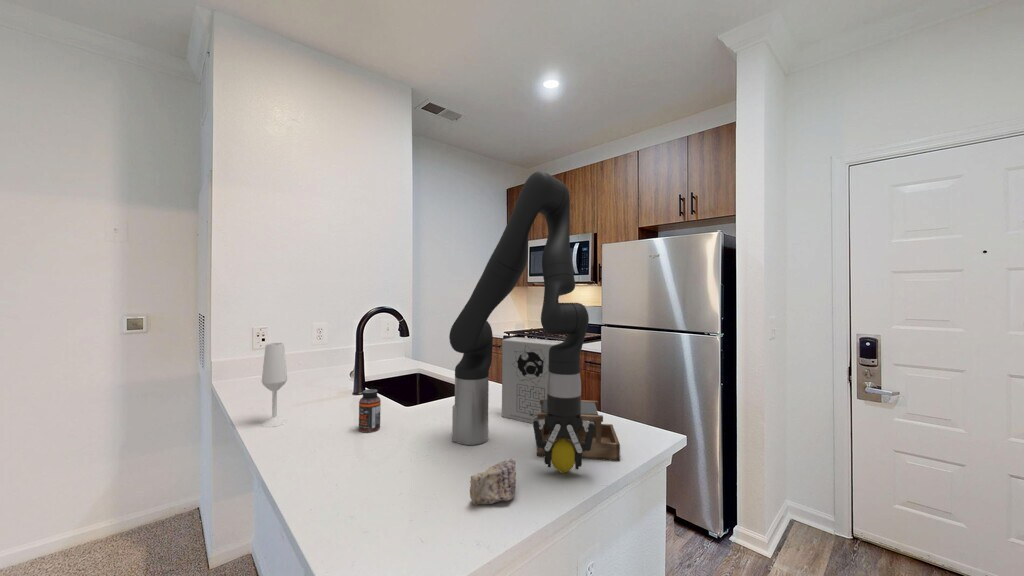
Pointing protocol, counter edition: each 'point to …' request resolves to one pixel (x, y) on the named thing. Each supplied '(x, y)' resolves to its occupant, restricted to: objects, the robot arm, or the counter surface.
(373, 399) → the supplement bottle
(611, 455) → the stand
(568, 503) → the counter surface
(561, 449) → the lemon
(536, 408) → the cereal box
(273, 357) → the champagne flute
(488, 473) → the mineral specimen
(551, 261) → the robot arm
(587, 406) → the trapdoor
